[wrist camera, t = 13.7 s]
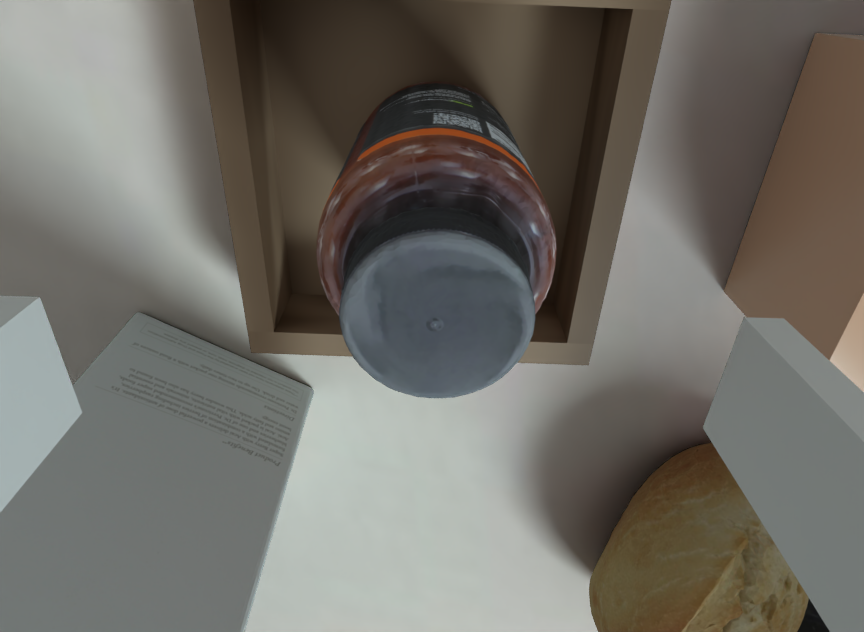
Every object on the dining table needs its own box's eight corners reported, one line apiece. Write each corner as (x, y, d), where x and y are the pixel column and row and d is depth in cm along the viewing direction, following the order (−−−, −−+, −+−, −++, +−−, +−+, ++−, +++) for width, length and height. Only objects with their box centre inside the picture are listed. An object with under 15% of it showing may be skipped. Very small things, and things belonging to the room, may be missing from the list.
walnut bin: (274, 305, 25) (251, 352, 22) (228, -49, 18) (184, -53, 15) (570, 317, 25) (588, 364, 22) (638, -31, 18) (678, -33, 15)
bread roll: (548, 586, 36) (573, 730, 29) (629, 411, 28) (690, 551, 21) (691, 602, 36) (748, 747, 29) (808, 435, 29) (923, 579, 22)
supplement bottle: (392, 256, 23) (356, 463, 13) (328, 113, 20) (222, 243, 10) (534, 208, 22) (610, 397, 12) (489, 50, 19) (542, 129, 9)
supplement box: (89, 432, 29) (-188, 792, 16) (137, 305, 25) (-184, 653, 12) (253, 495, 31) (125, 853, 18) (321, 388, 27) (216, 753, 14)
